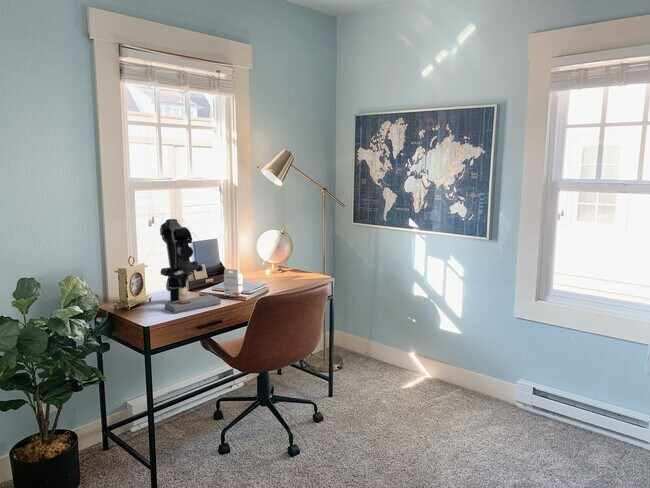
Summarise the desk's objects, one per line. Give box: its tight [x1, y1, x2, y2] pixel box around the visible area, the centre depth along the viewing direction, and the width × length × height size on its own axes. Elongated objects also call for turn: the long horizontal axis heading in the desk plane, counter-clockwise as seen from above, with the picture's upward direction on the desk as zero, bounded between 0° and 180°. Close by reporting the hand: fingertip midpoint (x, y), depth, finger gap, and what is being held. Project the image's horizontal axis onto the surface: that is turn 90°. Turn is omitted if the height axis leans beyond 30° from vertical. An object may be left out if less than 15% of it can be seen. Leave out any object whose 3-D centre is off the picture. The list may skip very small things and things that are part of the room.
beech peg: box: [179, 286, 189, 305], centre depth 247 cm, size 4×4×9 cm
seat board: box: [164, 294, 222, 315], centre depth 251 cm, size 10×24×3 cm, turn 133°
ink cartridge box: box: [223, 268, 244, 296], centre depth 270 cm, size 9×5×15 cm, turn 68°
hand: (182, 287), depth 246 cm, fingers closed
